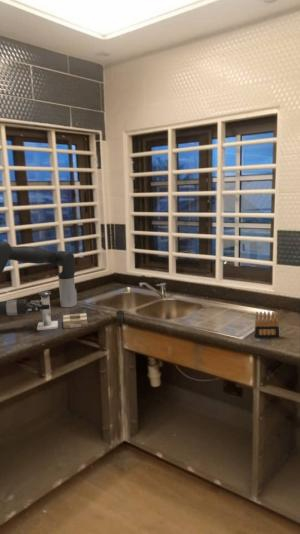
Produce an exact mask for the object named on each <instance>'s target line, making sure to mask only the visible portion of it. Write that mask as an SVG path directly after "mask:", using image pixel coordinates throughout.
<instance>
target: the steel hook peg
mask: <svg viewBox="0 0 300 534" xmlns="http://www.w3.org/2000/svg"><path fill="white" fill-rule="evenodd" d="M50 295H52V292H51V291H49V290H48V291H47V290H46V291H40V292H38V296H39V297H40V298H41V301H42V305H48V304H49V307H50V308H49V309H44V310H41V312H42V322H43V324H44V326H49V325H51V324H52V323H51V321H52V313H51V311H52V310H51V299H50ZM42 305H41V306H42Z"/></svg>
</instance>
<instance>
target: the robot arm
mask: <svg viewBox="0 0 300 534" xmlns="http://www.w3.org/2000/svg"><path fill="white" fill-rule="evenodd" d="M9 260H10V261H15V262H16V261H17V262H21V263H27V264H35V265H36V264H37V265H38V264H39V265H40V264H41V265H42V264H51V265H54V266H58V267H62V268H61V272H59V273H58V275H57V276H58V277H57V278H58V288H59V301H60V307H61V308H71V307H75V306H77V305H78V296H77V295H78V294H77V288H76V286H75V285H76V283H75V272H76V259H75V255H74V254H73V252H71V251H66V250H47V249H45V248H42V247H37V246H31V245H30V246H19V245H18V246H14V245H13V246H12V245H11V244H10V243H9V242H6V241H0V278H1V277H2V274H3V272H4V270H5V268H6V266H7V263H8V261H9ZM49 308H50V309H51V306H50V307H49V304H48V305H42V301H41V299H34V300H33V299H32V300H29V302H27V299H26V298H24V299H23V298H21V299H11V300H6V301H5V300H4V301H3V300H2V301H0V317H1V316H3V317H4V316H18V315H27V314H28V313H36V312H41V311H42V310H44V309H49Z"/></svg>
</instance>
